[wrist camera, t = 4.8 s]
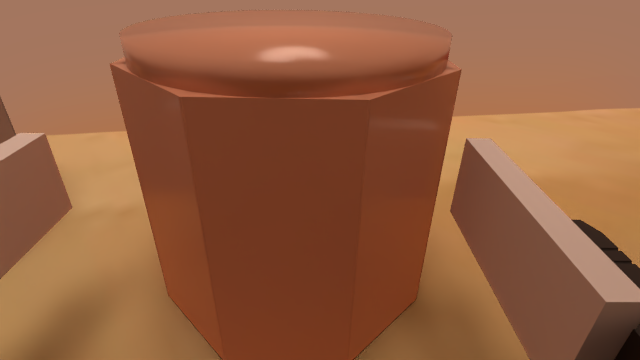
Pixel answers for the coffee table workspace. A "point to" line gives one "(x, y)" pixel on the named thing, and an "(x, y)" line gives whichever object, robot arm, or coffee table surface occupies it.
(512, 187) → the robot arm
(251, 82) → the octagonal lidded canister
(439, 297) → the coffee table surface
